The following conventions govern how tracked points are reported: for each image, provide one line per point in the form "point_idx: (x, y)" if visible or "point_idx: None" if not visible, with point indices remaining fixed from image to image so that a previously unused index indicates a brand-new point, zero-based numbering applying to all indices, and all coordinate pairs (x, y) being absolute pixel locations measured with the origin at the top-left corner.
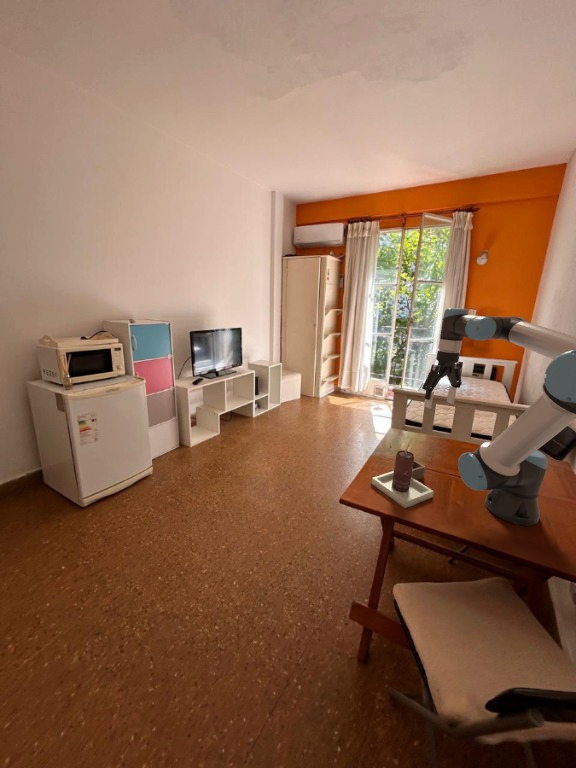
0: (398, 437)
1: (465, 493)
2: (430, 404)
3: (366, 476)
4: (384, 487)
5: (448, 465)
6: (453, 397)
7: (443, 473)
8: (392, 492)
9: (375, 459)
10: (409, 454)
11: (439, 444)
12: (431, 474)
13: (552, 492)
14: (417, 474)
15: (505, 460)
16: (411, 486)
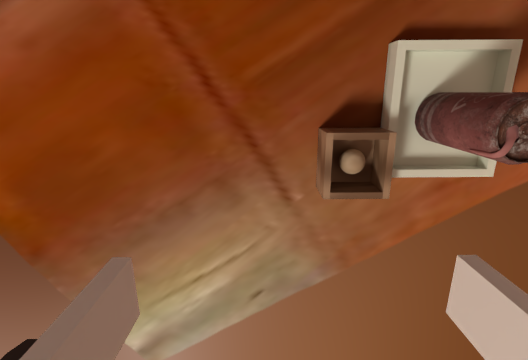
0: (182, 326)
1: (277, 8)
2: (509, 281)
3: (458, 204)
4: None
5: (179, 143)
6: (96, 306)
7: (238, 118)
8: None
9: (360, 259)
10: (508, 125)
11: (88, 246)
12: (279, 130)
13: None
14: (358, 130)
15: None
16: (402, 107)
